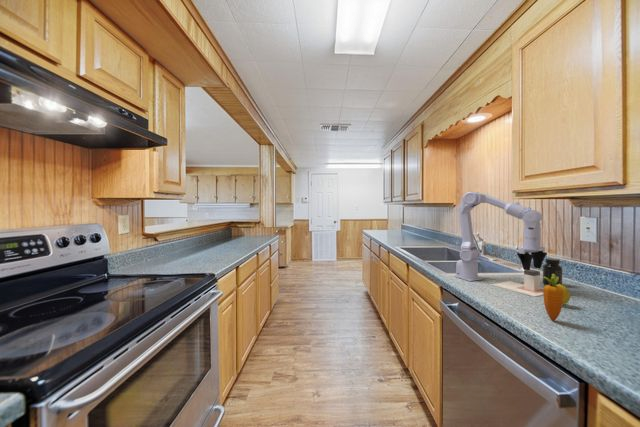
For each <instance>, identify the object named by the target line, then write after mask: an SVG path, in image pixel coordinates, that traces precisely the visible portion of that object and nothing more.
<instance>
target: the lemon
mask: <svg viewBox="0 0 640 427" xmlns="http://www.w3.org/2000/svg"><path fill="white" fill-rule="evenodd" d="M556 286H559V287H561V288H562V289H563V291H564V292H563V304H562V305H566V304H568V303H569V301H570V299H571V292H570V290H569V288H567V287H566V286H565V285H563V284H562V285H561V284H558V285H556Z"/></svg>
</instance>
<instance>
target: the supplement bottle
mask: <svg viewBox="0 0 640 427" xmlns="http://www.w3.org/2000/svg"><path fill="white" fill-rule="evenodd" d="M560 262H561V261H560V259H557V258H545V263H544V264H542V284H543V285H544V286H546V285H550V283H549V282H548V281H547V280H546V279H544V277H547V278H548V279H549V280H551V277H552V274H555V275H556V277H559V280H558V282H557V284H556V285H558V284H561V285H563V267H562V266H561V265H560Z"/></svg>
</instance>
